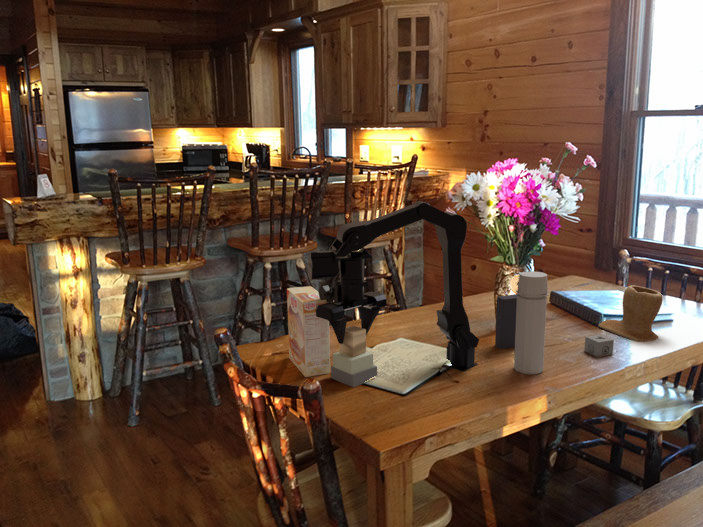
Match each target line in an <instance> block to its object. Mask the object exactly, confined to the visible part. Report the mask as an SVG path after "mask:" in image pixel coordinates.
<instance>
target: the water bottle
mask: <svg viewBox="0 0 703 527" xmlns="http://www.w3.org/2000/svg"><path fill="white" fill-rule="evenodd" d="M548 283H549V282H548V274H547V273H545V272H542V271H532V270H531V271H522V272H520V273H519V277H518V285H517V290H516V291H515V293H516V294H518V295H517V307H516V332H515V347H514V357H513V359H514V360H513V361H514V364H513V369H514V370H515V371H516V372H518V373H521V374H523V375H539V374H541V373H543V371H544V362H545V361H544V360H545V359H544V358H545V341H546V340H545V339H546V322H547V321H546V319H547V304H548V302H547V301H548V300H547V299H548V297H549V296H550V294H549V287H548V286H549V284H548Z"/></svg>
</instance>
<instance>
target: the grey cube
mask: <svg viewBox="0 0 703 527" xmlns="http://www.w3.org/2000/svg"><path fill="white" fill-rule="evenodd" d="M614 342H615V340H614V339H613V338H609V337H607V336H605V335H603V334H595V335H587V336H584V349H583V351H584V352H586V353H588V354H590V355H592V356H594V357H597V358H601V357H605V356H611V355H613V354H614V344H615V343H614Z"/></svg>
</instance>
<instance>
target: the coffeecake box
mask: <svg viewBox="0 0 703 527" xmlns="http://www.w3.org/2000/svg"><path fill="white" fill-rule="evenodd" d="M286 299H287V300H286V301H287V305H286V306H287V325H288V326H287V327H288V329H287V331H288V352H289V353H288V354H289V355H288V359H289V360H290V361H291V363H293V364H294V365H295V367H296V368H297V370H299V371H300V373H301V374H302V375H303V376H304V377H305V378H307V377H314V376H319V375H326V374H327V375H328V374H331V355H330V354H331V350H330V349H331V348H330V347H331V346H330V344H331V343H330V322H329V321H328V320H326V319H323V318H319V317H316V308H317V306H318V305H321V304H325V303H329V302H330V301H329V302H327V301H326V299H323V300H321V299H320V297H319V290H316V289H315V288H314V287H312V286H311V285H310V286H295V287H288V288H286Z"/></svg>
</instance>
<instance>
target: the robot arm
mask: <svg viewBox="0 0 703 527" xmlns="http://www.w3.org/2000/svg"><path fill="white" fill-rule="evenodd" d="M422 220H423V221H424V222H427V223H429V224H431V225H433V226H435V231H436V236H437V239H438V241H439V244H440V246H441V251H442V252H441V253H442V272H443V273H442V274H443V278H442V279H443V298H444V299H443V302H444V303H443V307H442V308H441V309H440V310H439V309H437V310H436V315H437V316H436V317H437V321H436V325H437V326H438V327H439V330H440V332H441V333H443V334H444V335H445V339H447V340H448V341H447V346H446V359H448V360H450V362H451V364H452V366H450V367H449V368H451V369H453V370H457V371H460V372H466V371H468V370H470V369H473V368H475V367H477V366H478V365H479V363H478V362H475V357H476V356H475V355H476V354H475V353H476V348H477V347H478V344H479V342H480V339H479V338H478V337H477V336H476V335H475V334H474V333H473V332H472V331H471V326H470V322H469V317H468V314H467V312H466V309H465V307H464V302H463V301H464V298H463V297H464V296H463V295H464V293H463V266H462V249H463V246H464V244H465V241H466V239H467V231H468V223H467V219H466V218H464V217H463V215H460V214H457V213H455V212H451V211H443V210H440V209H438V208H436V207H435V206H433V205H431V204H430V203H428V202H425V201H421V200H420V201H416V202H414V203H413V204H412V203H411V204H409V205H408V206H405V207H402V208H399V209H397V210H395V211H391V212H389V213H386V214H384V215H380V216H379V217H376V218H373V219H370V220H362V221H354V222H349V223H345V224H342V225H341V226H340V227H339V228H338V230H337V233H336V238H335V240H334V241H333V243H332V244H331V245H330V246H329V249H328V250H322V251H321V250H320V251H319V250H318V251H317V250H310V251H309V252H308V255H309V256H308V260H307V261H308V262H307V264H306V266H307V267H306V268H307V275H308V279H309V281H318V280H319V281H320V280H331V279H333V280H334V279H335V277H337V276H338V275H339V280H336V281H335V286H334V287H330V286H329V285H328V284H327V285H323V286H319V287H318V292H319V297H320V299H321V300H323V299H326V301H327V302H329V303H325V304H321V305H318V306H317V308H316V317H319V318H323V319H326V320H328V321H329V324H330V325H331V327H332V329H333V331H334V335H335V337H336V340H337V342H338V344H339V345H340V344H343V341H344V336H345V330H346V327H347V323H348V322H347V321H348V318H346V317H344V316H345V312H348V311H352V310H355V309H356V310H358V312H360V313H359V314H360V320H361V322H360V324H361V327H360V328H363V329H366V337H367V336H368V333H369V331H370V329H371V327H372V325H373V323H374V321H375V319H376V317H377V316H378V314H379V312H381V311H382V308H383V307H386V306H387V297H386V296H385V294H383V293H379V292H376V291H369V292H368V291H367V292H365V287H366V286H368V280H367V281H366V280H365V277H364V276H365V274H364V273H365V272H364V271H365V270H364V268H365V267H364V266H365V265H364V261H365V259H366V260H367V259H368V260H369V259H372V258H373V255H372V254H370V253H369V252H368V250H367V248H365V247H367V246H369V245H370V244H371V243H373V242H374V241H375V239H378V238H379V237H381V236H383V235H386V234H388V233H392V232H393V231H395V230H398V229H401V228H404V227H406V226H409V225H411V224H414V223H417V222H420V221H422ZM331 301H334V303H333V302H331ZM337 303H339V304H337Z"/></svg>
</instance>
